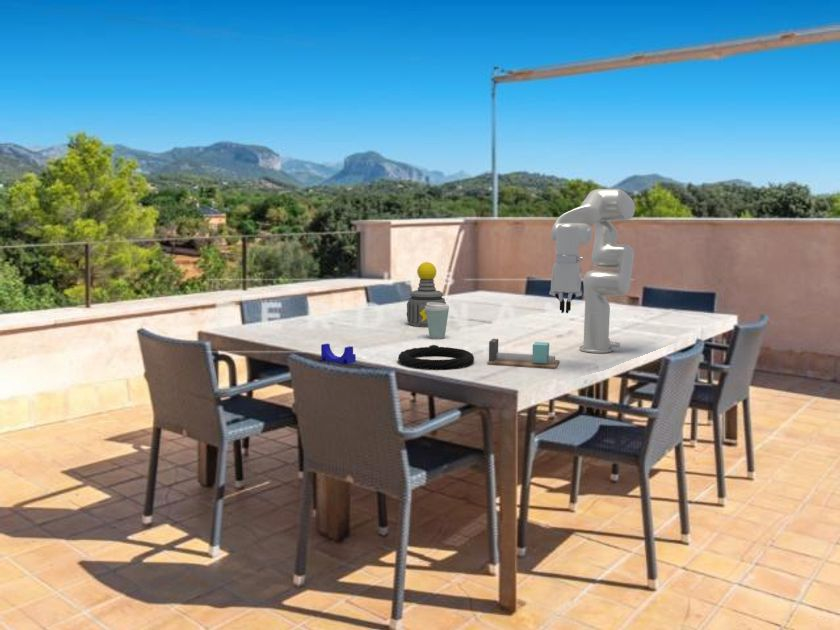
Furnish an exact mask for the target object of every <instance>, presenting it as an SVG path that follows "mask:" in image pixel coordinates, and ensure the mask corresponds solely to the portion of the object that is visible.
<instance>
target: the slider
mask: <svg viewBox="0 0 840 630" xmlns="http://www.w3.org/2000/svg"><path fill="white" fill-rule="evenodd" d="M532 355H533V356H532V363H544V364H547V356H550V342H545V341H534V343H532Z"/></svg>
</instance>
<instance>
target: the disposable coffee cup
mask: <svg viewBox="0 0 840 630" xmlns="http://www.w3.org/2000/svg"><path fill="white" fill-rule="evenodd" d="M425 309H426V315H427V322H428V327H427V329H428V335H429V338H430V339H433V340H442V339H444V338H445V337H446V332H447V324H448V318H449V317H448V316H449V311H450V307H449V304H447V303H446V304H444V303H436V302H429V303H426V306H425Z"/></svg>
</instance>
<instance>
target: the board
mask: <svg viewBox="0 0 840 630" xmlns="http://www.w3.org/2000/svg"><path fill="white" fill-rule="evenodd" d="M486 364H487V365H490V366H503V367H504V366H505V367H517V368H518V367H519V368H533V369H550V370H556V369H557V367H558V366H559V364H560V360H558V359H555V364H544V363H532V362H516V361H501V360H495V361H489V360H488V361H487V363H486Z"/></svg>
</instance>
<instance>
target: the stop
mask: <svg viewBox="0 0 840 630" xmlns="http://www.w3.org/2000/svg"><path fill="white" fill-rule="evenodd" d="M497 352H498V353H499V338H492V339H491V340H490V341H489V342H488V361H495V360H496V353H497Z"/></svg>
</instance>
